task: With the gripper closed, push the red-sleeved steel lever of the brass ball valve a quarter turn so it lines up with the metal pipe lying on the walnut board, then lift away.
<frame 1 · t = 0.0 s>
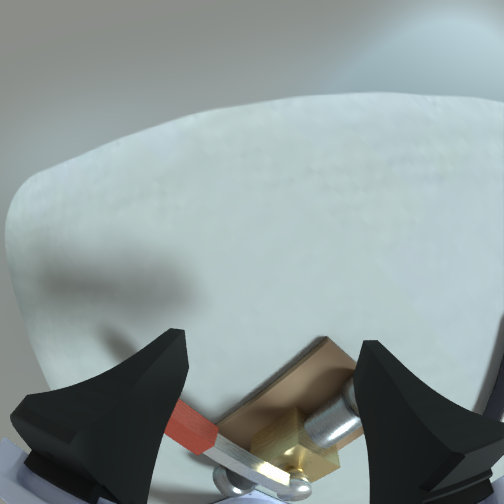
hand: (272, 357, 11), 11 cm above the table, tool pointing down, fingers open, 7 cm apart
board: (292, 429, 23), on the table
valve: (292, 429, 23), resting on board
lever: (237, 459, 16), point 8 cm above the table, hinge at 0.0°
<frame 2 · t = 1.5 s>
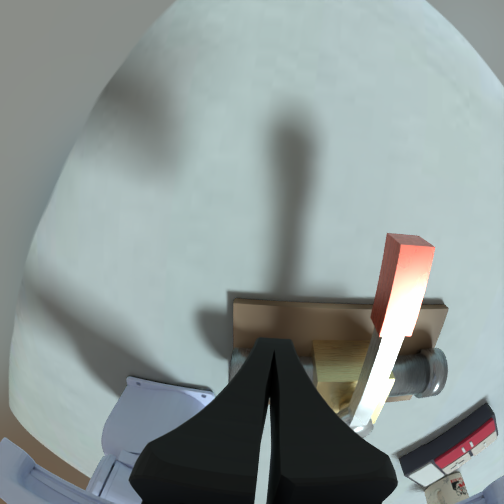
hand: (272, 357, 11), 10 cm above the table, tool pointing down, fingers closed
board: (338, 358, 23), on the table
valve: (338, 358, 23), resting on board
lever: (378, 363, 14), point 7 cm above the table, hinge at 0.0°
calculator: (449, 440, 28), on the table
teacup with lid: (439, 481, 33), on the table
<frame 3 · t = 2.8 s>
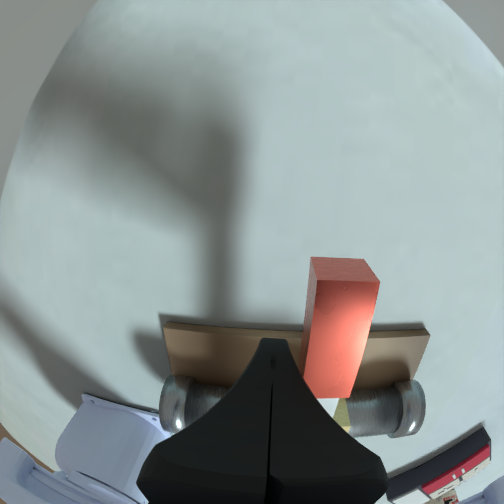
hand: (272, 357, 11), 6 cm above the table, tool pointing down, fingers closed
board: (295, 390, 20), on the table
valve: (295, 390, 20), resting on board
lever: (312, 420, 11), point 8 cm above the table, hinge at 0.2°, touching gripper
calculator: (439, 464, 25), on the table
teacup with lid: (432, 498, 30), on the table
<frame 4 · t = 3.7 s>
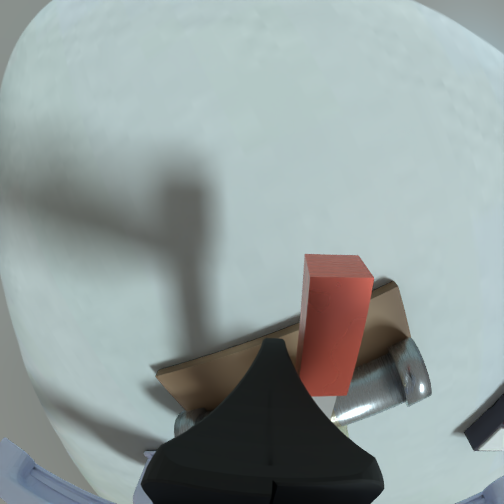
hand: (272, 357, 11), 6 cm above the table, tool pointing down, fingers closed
board: (295, 388, 20), on the table
valve: (295, 388, 20), resting on board
lever: (311, 418, 11), point 8 cm above the table, hinge at 27.4°, touching gripper
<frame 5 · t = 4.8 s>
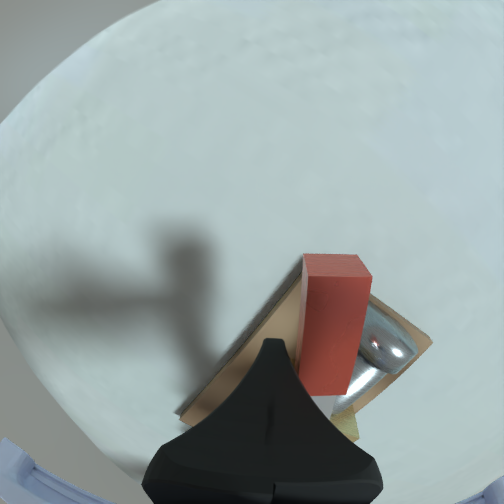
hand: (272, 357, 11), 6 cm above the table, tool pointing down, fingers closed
board: (296, 388, 20), on the table
valve: (296, 388, 20), resting on board
lever: (311, 418, 11), point 8 cm above the table, hinge at 56.7°, touching gripper
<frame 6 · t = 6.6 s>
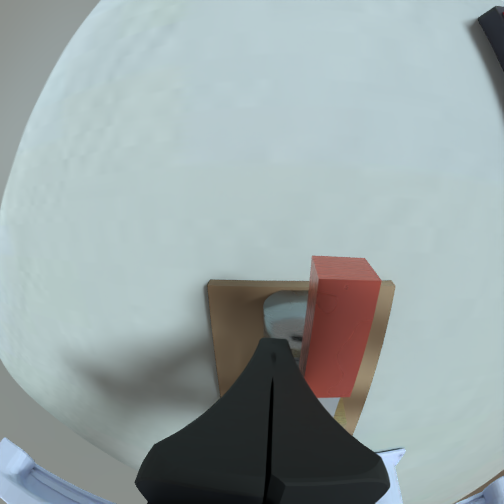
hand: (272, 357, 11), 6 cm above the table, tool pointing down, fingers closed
board: (295, 389, 20), on the table
valve: (295, 389, 20), resting on board
lever: (313, 419, 11), point 8 cm above the table, hinge at 92.3°, touching gripper
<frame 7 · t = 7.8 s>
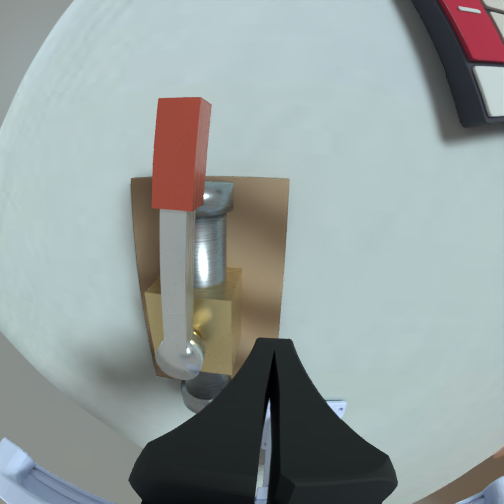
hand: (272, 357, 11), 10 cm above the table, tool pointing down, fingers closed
board: (209, 295, 22), on the table
valve: (209, 295, 22), resting on board
lever: (177, 259, 13), point 8 cm above the table, hinge at 93.8°
calculator: (472, 42, 13), on the table
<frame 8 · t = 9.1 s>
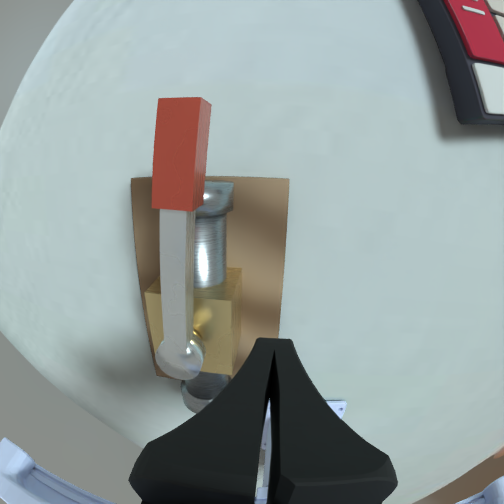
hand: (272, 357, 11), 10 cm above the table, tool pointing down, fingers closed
board: (209, 295, 22), on the table
valve: (209, 295, 22), resting on board
lever: (177, 259, 13), point 7 cm above the table, hinge at 93.8°
calculator: (476, 44, 13), on the table
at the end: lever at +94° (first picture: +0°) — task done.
